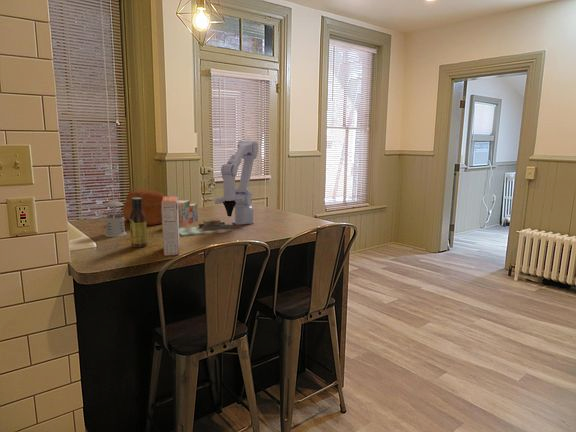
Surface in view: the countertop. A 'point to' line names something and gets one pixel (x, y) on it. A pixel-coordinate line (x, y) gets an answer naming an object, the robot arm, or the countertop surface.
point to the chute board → (199, 231)
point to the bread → (145, 205)
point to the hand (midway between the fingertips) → (229, 216)
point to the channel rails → (214, 227)
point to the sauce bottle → (138, 224)
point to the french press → (114, 220)
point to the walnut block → (211, 222)
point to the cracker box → (170, 225)
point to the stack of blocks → (187, 213)
